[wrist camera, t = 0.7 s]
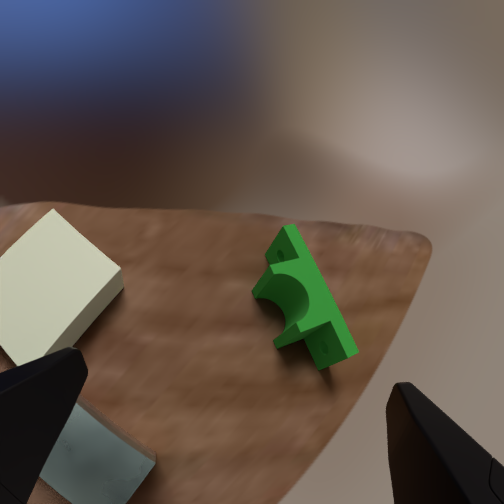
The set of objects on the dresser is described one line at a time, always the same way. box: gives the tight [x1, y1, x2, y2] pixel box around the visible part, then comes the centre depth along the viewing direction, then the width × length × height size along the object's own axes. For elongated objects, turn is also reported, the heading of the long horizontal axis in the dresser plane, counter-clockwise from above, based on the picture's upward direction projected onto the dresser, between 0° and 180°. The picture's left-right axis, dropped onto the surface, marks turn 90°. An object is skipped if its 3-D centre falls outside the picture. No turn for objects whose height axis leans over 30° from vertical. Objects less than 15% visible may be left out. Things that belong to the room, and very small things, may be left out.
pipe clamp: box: [252, 224, 359, 371], centre depth 23 cm, size 11×4×5 cm, turn 22°
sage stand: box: [0, 209, 124, 366], centre depth 18 cm, size 10×8×3 cm
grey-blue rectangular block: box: [39, 394, 156, 504], centre depth 13 cm, size 5×8×6 cm, turn 59°
